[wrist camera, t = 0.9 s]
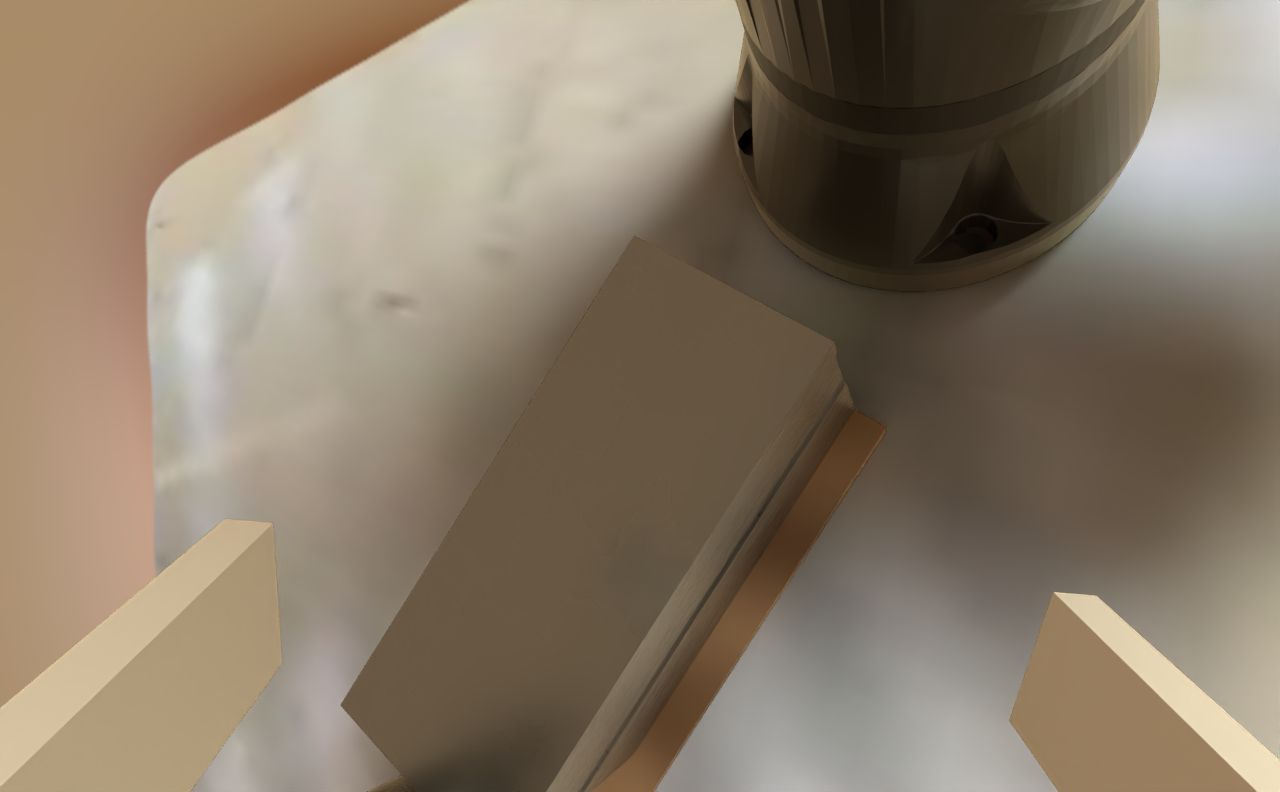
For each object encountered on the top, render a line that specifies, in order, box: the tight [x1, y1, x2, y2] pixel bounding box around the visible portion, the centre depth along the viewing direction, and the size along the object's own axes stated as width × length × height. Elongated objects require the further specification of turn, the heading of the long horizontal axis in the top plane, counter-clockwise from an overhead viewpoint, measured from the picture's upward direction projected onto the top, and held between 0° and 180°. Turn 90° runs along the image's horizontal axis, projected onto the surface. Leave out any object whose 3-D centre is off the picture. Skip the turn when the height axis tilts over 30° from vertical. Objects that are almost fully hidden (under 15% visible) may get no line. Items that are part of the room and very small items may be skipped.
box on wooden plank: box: [341, 236, 855, 792], centre depth 23 cm, size 16×6×10 cm, turn 146°
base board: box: [591, 410, 886, 792], centre depth 28 cm, size 40×9×1 cm, turn 146°
